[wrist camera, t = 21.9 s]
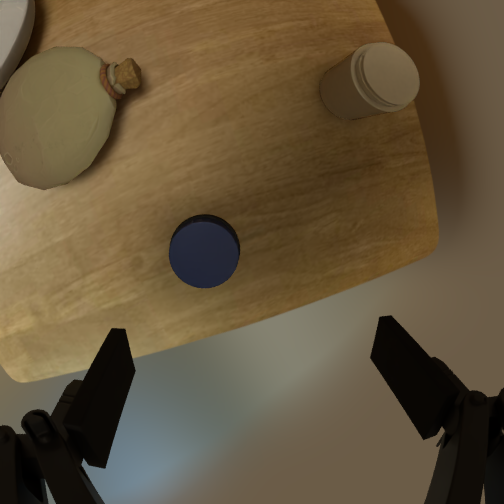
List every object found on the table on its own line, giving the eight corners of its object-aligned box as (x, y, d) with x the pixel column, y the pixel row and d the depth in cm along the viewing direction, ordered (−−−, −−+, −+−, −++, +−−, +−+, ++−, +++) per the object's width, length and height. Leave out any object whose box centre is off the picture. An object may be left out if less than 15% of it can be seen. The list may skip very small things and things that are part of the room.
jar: (381, 88, 31) (432, 72, 21) (357, 131, 32) (407, 125, 22) (336, 55, 29) (376, 24, 19) (308, 97, 31) (344, 76, 21)
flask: (14, 94, 26) (134, 29, 26) (41, 203, 31) (169, 143, 31) (-28, 84, 17) (115, -6, 18) (0, 217, 22) (156, 137, 23)
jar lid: (195, 204, 32) (193, 207, 31) (251, 242, 34) (253, 247, 32) (159, 258, 34) (155, 264, 32) (213, 293, 36) (213, 300, 34)
